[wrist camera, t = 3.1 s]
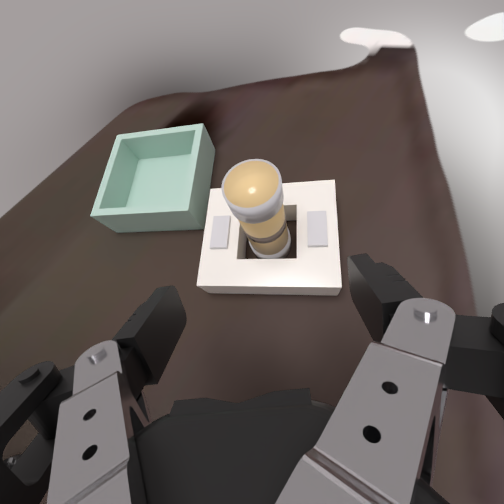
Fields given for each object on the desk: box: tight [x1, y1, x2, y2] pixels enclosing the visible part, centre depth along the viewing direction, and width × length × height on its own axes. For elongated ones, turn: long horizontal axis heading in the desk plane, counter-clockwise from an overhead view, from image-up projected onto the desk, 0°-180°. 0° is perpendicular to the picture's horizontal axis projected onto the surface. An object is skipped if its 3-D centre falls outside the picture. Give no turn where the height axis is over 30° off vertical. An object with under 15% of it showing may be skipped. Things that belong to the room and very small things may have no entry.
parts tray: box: [90, 124, 215, 233], centre depth 29 cm, size 11×11×4 cm
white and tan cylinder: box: [222, 159, 291, 259], centre depth 21 cm, size 4×4×10 cm
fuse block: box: [197, 180, 342, 296], centre depth 24 cm, size 12×10×3 cm
